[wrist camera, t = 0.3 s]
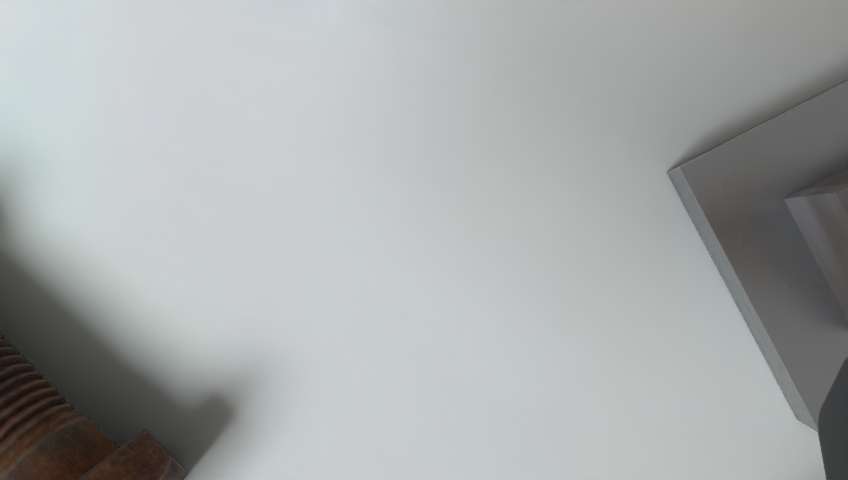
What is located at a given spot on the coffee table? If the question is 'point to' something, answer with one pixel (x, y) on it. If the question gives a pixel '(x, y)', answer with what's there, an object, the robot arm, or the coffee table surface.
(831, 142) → the square lid with knob
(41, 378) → the bolt
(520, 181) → the coffee table surface
